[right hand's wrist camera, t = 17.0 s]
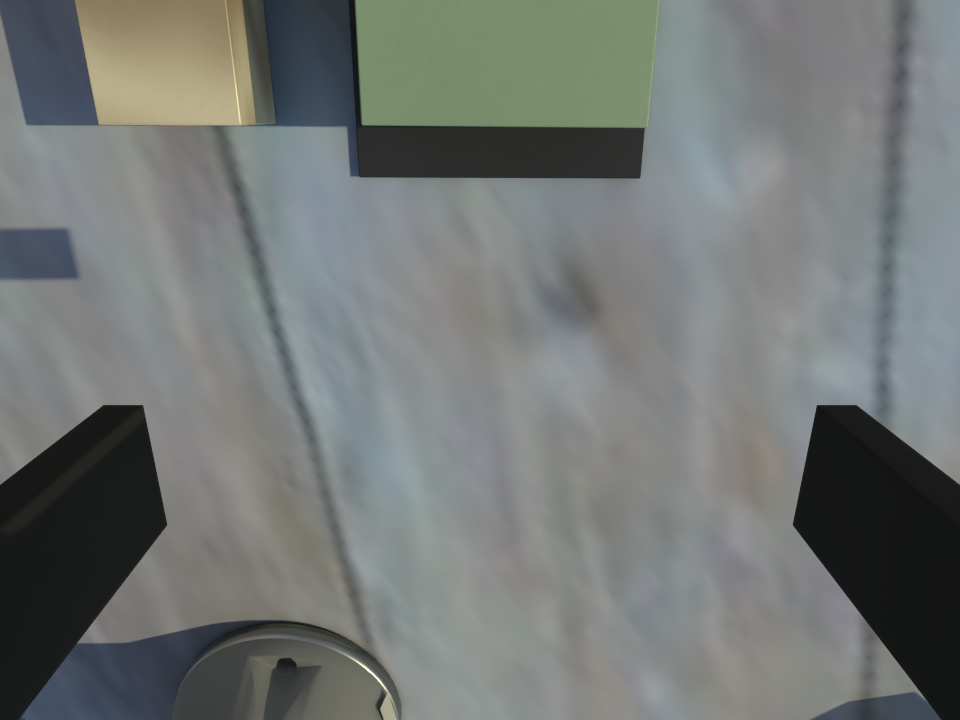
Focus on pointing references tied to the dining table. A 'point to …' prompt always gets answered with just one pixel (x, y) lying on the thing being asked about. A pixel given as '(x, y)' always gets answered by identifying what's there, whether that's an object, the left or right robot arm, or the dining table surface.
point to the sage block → (506, 62)
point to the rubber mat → (493, 148)
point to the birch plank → (178, 61)
